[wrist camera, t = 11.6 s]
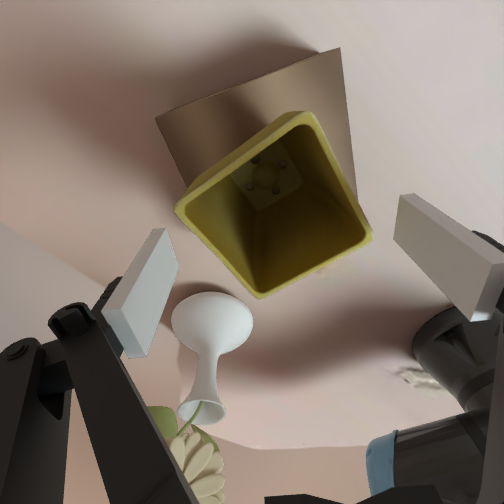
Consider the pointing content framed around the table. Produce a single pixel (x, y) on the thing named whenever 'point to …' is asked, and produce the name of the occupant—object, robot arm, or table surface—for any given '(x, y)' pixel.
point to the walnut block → (261, 115)
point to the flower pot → (276, 206)
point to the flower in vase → (203, 387)
